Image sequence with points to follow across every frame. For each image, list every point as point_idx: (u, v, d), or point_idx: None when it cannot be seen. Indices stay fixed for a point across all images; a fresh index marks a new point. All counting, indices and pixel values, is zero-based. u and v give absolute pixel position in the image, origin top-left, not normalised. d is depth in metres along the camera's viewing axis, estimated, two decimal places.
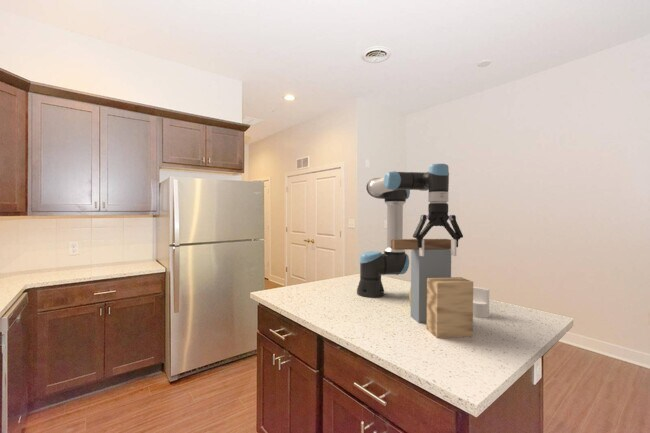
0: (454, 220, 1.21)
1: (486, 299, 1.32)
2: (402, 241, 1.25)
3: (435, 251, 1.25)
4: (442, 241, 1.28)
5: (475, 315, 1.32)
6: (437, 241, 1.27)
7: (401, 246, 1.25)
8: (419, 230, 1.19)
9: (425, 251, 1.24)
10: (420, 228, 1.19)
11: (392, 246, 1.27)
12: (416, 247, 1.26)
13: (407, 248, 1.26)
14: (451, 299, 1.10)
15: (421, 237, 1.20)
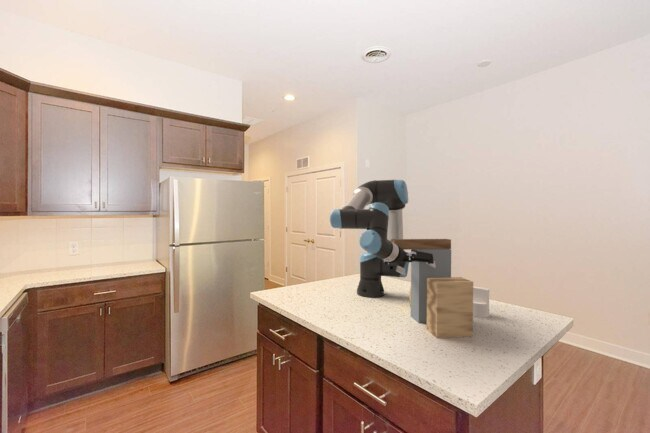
0: (415, 257, 1.15)
1: (486, 299, 1.32)
2: (402, 241, 1.25)
3: (435, 251, 1.25)
4: (442, 241, 1.28)
5: (475, 315, 1.32)
6: (437, 241, 1.27)
7: (401, 246, 1.25)
8: (388, 268, 1.26)
9: (425, 251, 1.24)
10: (388, 268, 1.26)
11: None
12: (416, 247, 1.26)
13: (407, 248, 1.26)
14: (451, 299, 1.10)
15: (393, 270, 1.28)
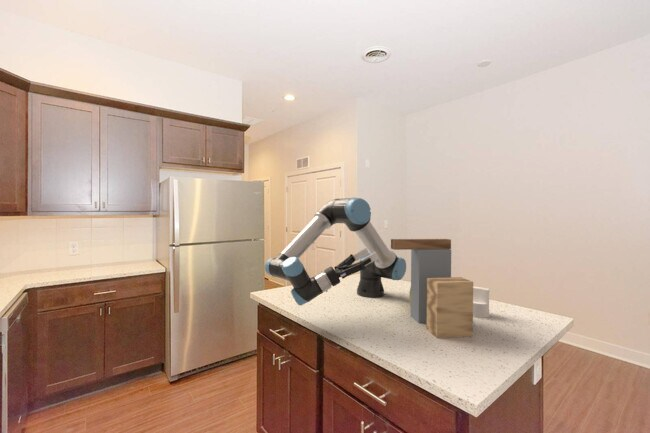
0: None
1: (486, 299, 1.32)
2: (402, 241, 1.25)
3: (435, 251, 1.25)
4: (442, 241, 1.28)
5: (475, 315, 1.32)
6: (437, 241, 1.27)
7: (401, 246, 1.25)
8: None
9: (425, 251, 1.24)
10: None
11: (392, 246, 1.27)
12: (416, 247, 1.26)
13: (407, 248, 1.26)
14: (451, 299, 1.10)
15: None
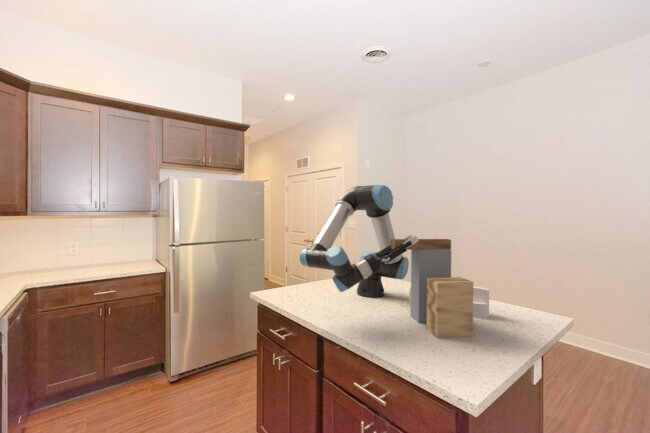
0: None
1: (486, 299, 1.32)
2: (402, 241, 1.25)
3: (435, 251, 1.25)
4: (442, 241, 1.28)
5: (475, 315, 1.32)
6: (437, 241, 1.27)
7: None
8: None
9: (425, 251, 1.24)
10: None
11: (392, 246, 1.27)
12: (416, 247, 1.26)
13: (407, 248, 1.26)
14: (451, 299, 1.10)
15: None
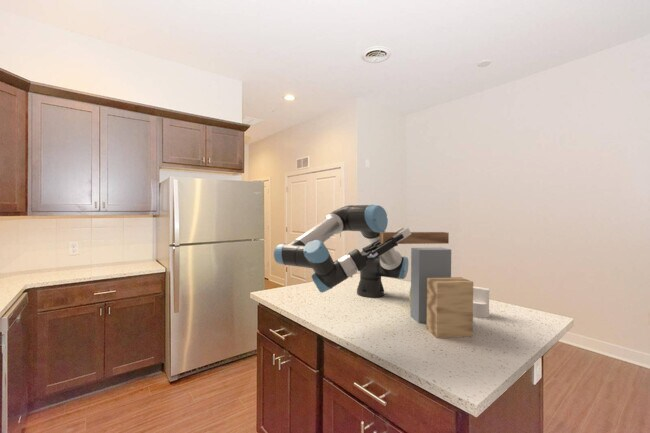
0: None
1: (486, 299, 1.32)
2: (392, 234, 1.09)
3: (435, 251, 1.25)
4: (438, 234, 1.11)
5: (475, 315, 1.32)
6: (433, 234, 1.11)
7: None
8: None
9: (425, 251, 1.24)
10: None
11: (381, 240, 1.10)
12: (408, 241, 1.10)
13: (398, 242, 1.09)
14: (451, 299, 1.10)
15: None
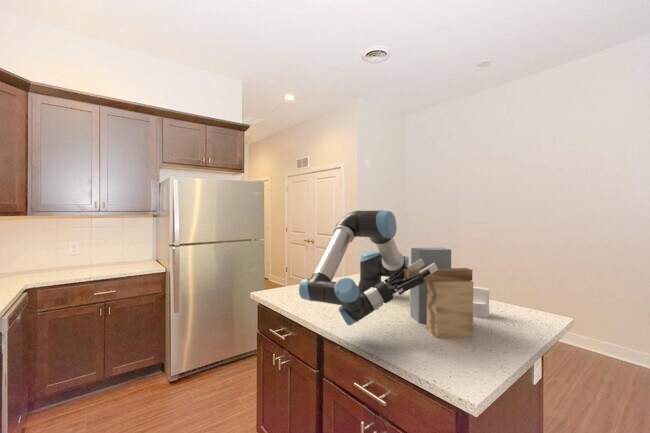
0: None
1: (486, 299, 1.32)
2: (417, 272, 1.10)
3: (435, 251, 1.25)
4: (462, 272, 1.13)
5: (475, 315, 1.32)
6: (457, 272, 1.12)
7: None
8: None
9: (425, 251, 1.24)
10: None
11: None
12: (433, 279, 1.11)
13: None
14: (451, 299, 1.10)
15: None
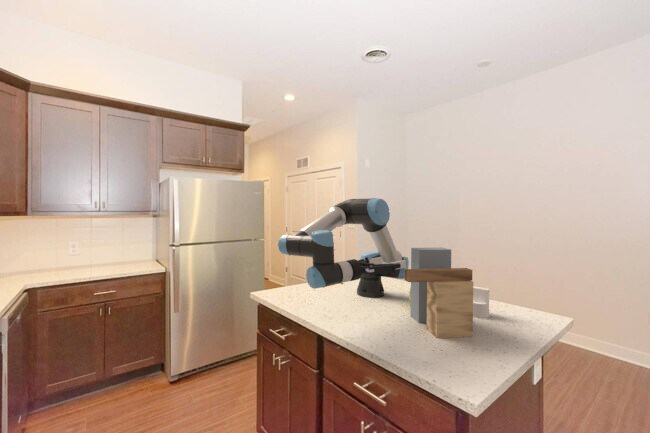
0: None
1: (486, 299, 1.32)
2: (417, 272, 1.10)
3: (435, 251, 1.25)
4: (462, 272, 1.13)
5: (475, 315, 1.32)
6: (457, 272, 1.12)
7: (416, 278, 1.10)
8: None
9: (425, 251, 1.24)
10: None
11: (406, 278, 1.12)
12: (433, 279, 1.11)
13: (423, 280, 1.11)
14: (451, 299, 1.10)
15: None
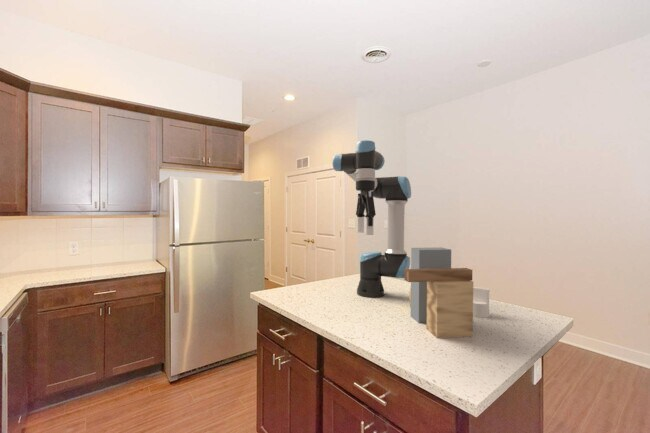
0: (366, 197, 1.14)
1: (486, 299, 1.32)
2: (417, 272, 1.10)
3: (435, 251, 1.25)
4: (462, 272, 1.13)
5: (475, 315, 1.32)
6: (457, 272, 1.12)
7: (416, 278, 1.10)
8: (357, 208, 1.29)
9: (425, 251, 1.24)
10: (357, 206, 1.29)
11: (406, 278, 1.12)
12: (433, 279, 1.11)
13: (423, 280, 1.11)
14: (451, 299, 1.10)
15: (357, 214, 1.28)
